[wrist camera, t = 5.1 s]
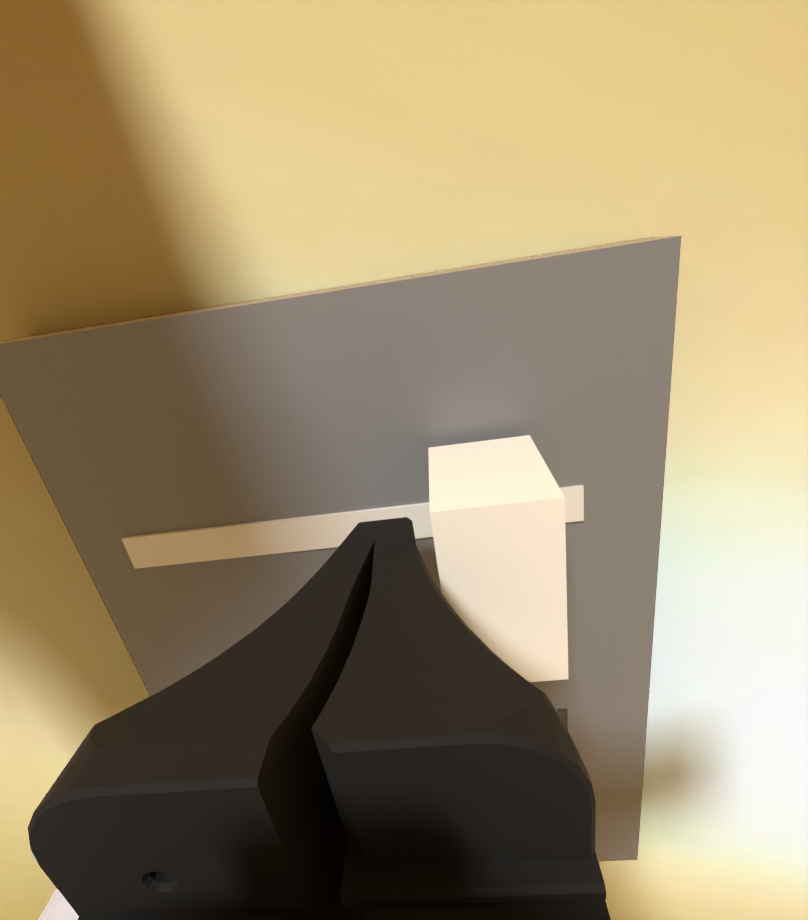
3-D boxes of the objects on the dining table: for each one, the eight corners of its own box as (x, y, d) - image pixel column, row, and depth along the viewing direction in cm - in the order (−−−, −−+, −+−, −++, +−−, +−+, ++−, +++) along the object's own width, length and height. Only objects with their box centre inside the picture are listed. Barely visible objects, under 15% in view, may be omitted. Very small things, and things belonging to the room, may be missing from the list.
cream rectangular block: (537, 585, 13) (568, 679, 10) (448, 594, 13) (455, 687, 10) (529, 434, 11) (565, 497, 8) (428, 447, 12) (429, 512, 9)
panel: (622, 817, 20) (643, 878, 18) (251, 835, 21) (234, 893, 19) (650, 237, 11) (696, 235, 9) (24, 337, 13) (-46, 352, 11)
